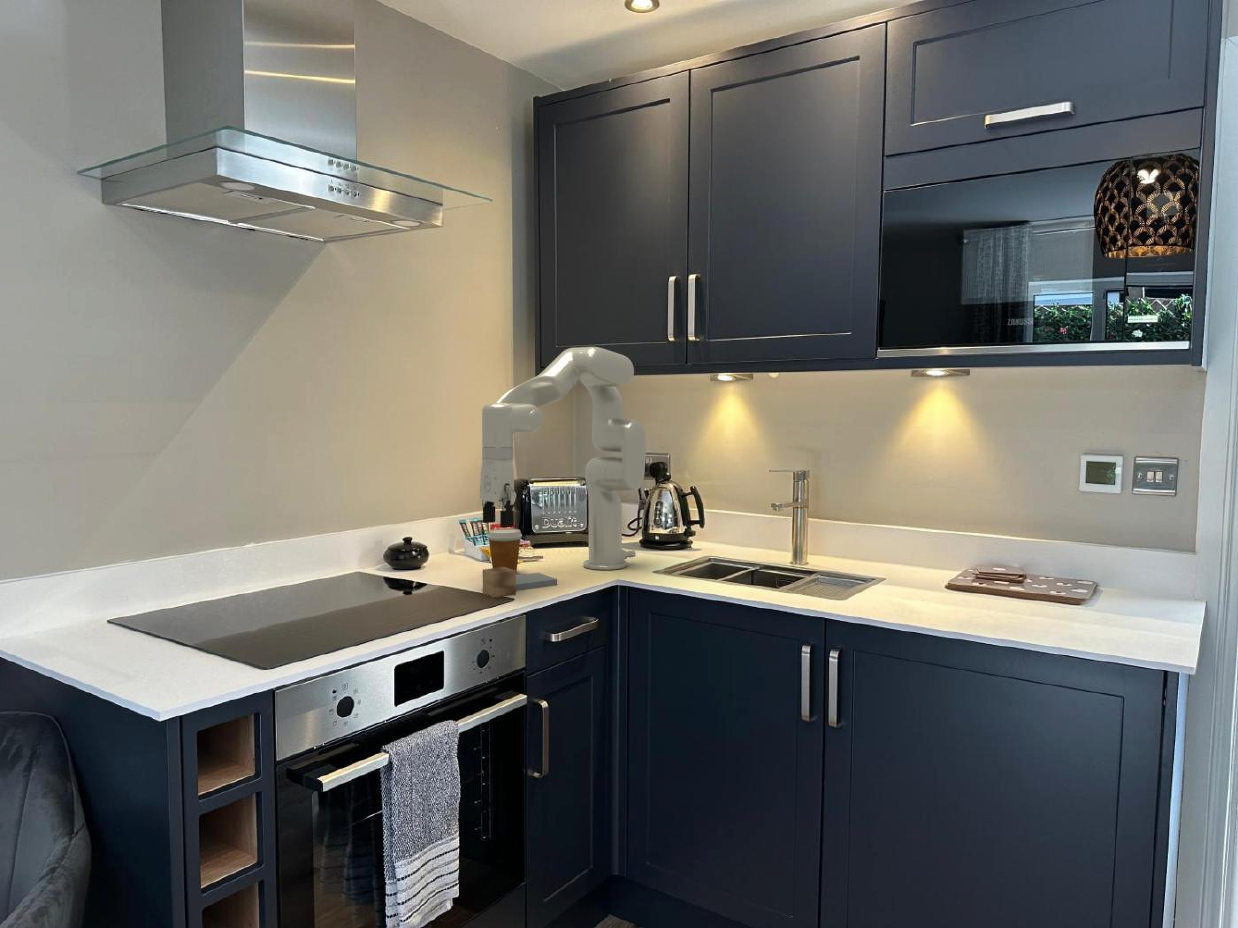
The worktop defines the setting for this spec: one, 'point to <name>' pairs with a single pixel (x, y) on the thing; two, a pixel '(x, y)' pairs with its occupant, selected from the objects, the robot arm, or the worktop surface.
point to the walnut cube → (499, 582)
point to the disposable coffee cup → (504, 547)
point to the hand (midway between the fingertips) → (497, 524)
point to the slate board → (534, 581)
